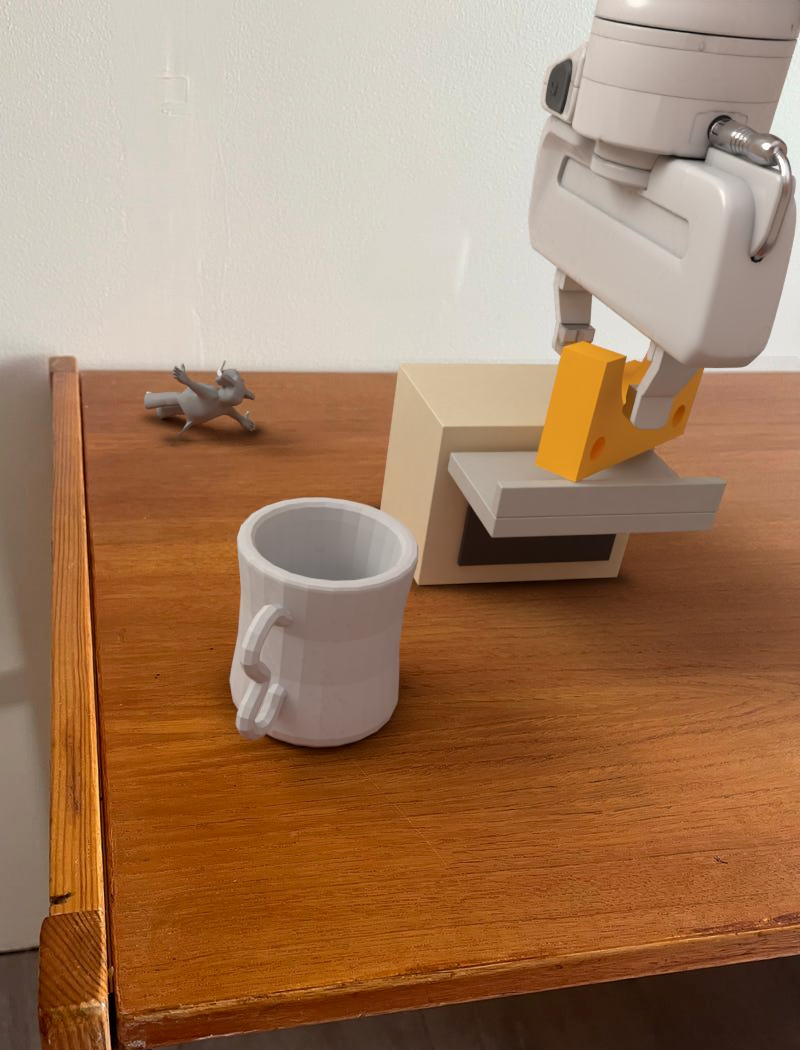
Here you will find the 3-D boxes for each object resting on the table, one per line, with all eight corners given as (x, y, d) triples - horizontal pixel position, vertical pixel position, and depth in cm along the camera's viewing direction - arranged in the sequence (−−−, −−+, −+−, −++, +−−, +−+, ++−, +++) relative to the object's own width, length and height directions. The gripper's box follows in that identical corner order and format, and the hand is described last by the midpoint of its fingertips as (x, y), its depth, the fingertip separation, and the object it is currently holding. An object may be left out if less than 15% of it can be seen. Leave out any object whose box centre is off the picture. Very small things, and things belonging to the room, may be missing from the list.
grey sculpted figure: (200, 400, 88) (285, 391, 83) (185, 466, 87) (269, 461, 82) (118, 343, 80) (206, 329, 75) (100, 414, 79) (188, 405, 74)
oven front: (560, 506, 77) (596, 358, 70) (677, 652, 62) (736, 482, 56) (379, 510, 74) (399, 356, 68) (457, 665, 60) (492, 487, 53)
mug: (281, 631, 61) (292, 478, 55) (422, 684, 58) (450, 528, 52) (159, 749, 52) (157, 580, 46) (320, 819, 49) (340, 648, 43)
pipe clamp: (620, 410, 64) (649, 305, 61) (683, 434, 62) (717, 327, 58) (508, 453, 57) (534, 336, 53) (575, 482, 54) (607, 362, 51)
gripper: (875, 149, 40) (758, 474, 48) (640, 72, 56) (582, 324, 64) (729, 141, 39) (634, 476, 46) (532, 65, 55) (486, 323, 63)
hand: (603, 387), depth 55 cm, fingers open, 8 cm apart
